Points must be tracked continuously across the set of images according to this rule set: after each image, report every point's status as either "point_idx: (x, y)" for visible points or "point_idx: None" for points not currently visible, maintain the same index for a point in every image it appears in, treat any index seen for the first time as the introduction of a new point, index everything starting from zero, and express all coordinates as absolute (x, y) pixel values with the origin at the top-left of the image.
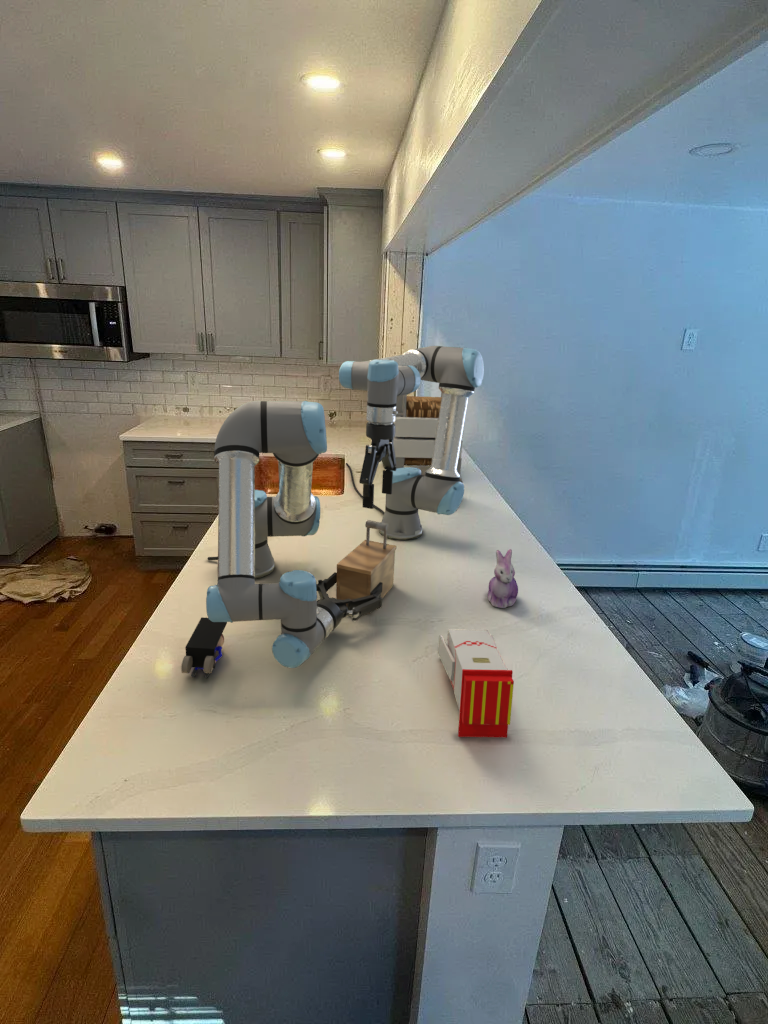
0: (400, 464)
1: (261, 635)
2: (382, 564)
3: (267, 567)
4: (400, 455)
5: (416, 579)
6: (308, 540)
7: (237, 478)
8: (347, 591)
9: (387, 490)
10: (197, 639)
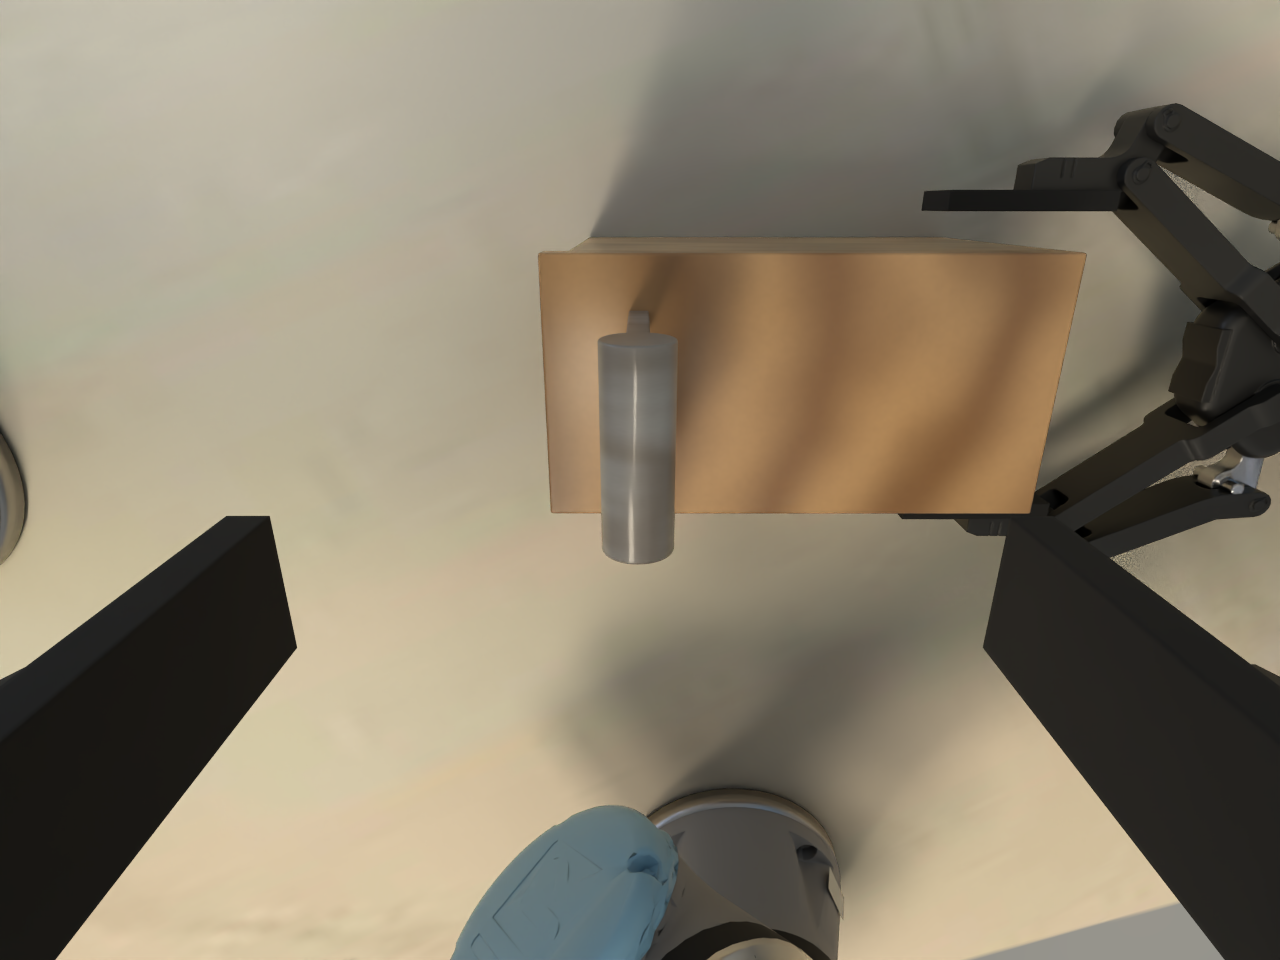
0: None
1: (1233, 580)
2: (839, 250)
3: (755, 818)
4: None
5: (440, 131)
6: (337, 810)
7: None
8: None
9: (252, 599)
10: None
